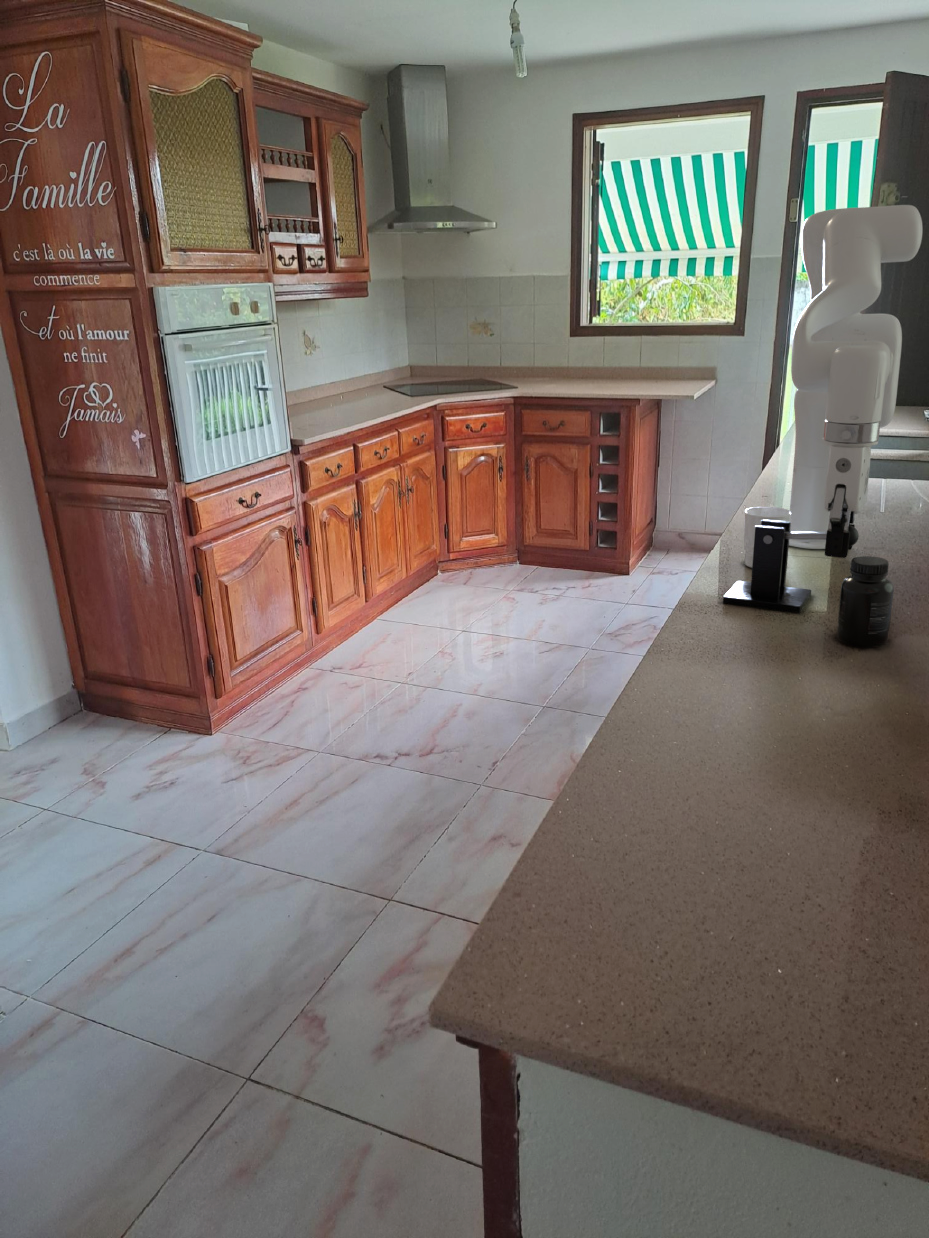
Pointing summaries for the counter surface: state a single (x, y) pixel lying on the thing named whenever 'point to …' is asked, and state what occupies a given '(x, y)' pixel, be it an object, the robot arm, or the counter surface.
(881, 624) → the supplement bottle
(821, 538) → the tap lever
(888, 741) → the counter surface
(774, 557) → the black lever stand
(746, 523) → the white cup
